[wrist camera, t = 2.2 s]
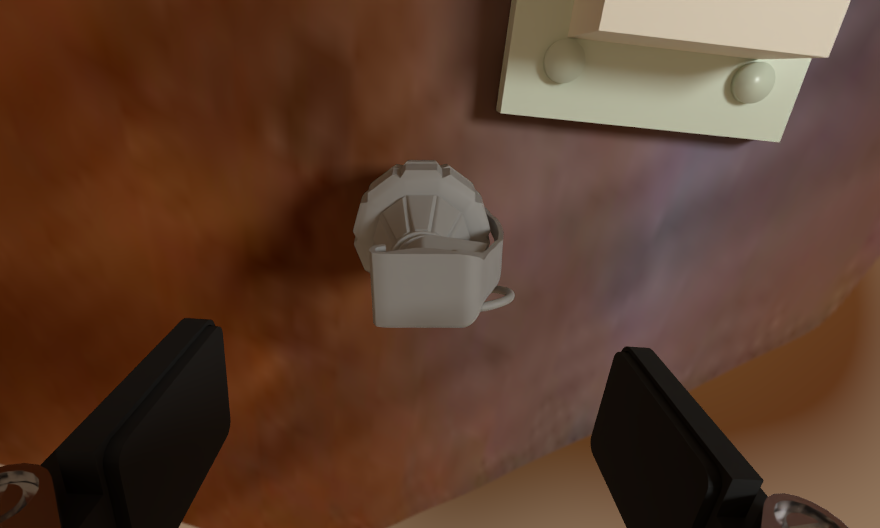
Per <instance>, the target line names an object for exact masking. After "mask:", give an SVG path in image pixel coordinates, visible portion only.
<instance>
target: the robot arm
mask: <svg viewBox="0 0 880 528" xmlns="http://www.w3.org/2000/svg"><path fill="white" fill-rule="evenodd" d="M229 428H230V410H229V398H228V387H227V376H226V365H225V354H224V343H223V332H222V329H221V327H218V326H215V324H214V322H213V321H212V320H207V319H192V318H184V319H183V320H181V321H180V322H179V323H178V324H177V326H176V327H175V328H174V329H173V330H172V331H171V332H170V333H169V334H168V335H167V336H166V337H165V338H164V339H163V340H162V341H161V342H160V343H159V344H158V345H157V346H156V347H155V348H154V349H153V350H152V351H151V352H150V353H149V354H148V355H147V356H146V357H145V358H144V359H143V360H142V361H141V362H140V364H139V365H138V366H137V367H136V368H135V369H134V370H133V371H132V372H131V373H130V374H129V375H128V376H127V377H126V378H125V379H124V380H123V381H122V382H121V383H120V384H119V385H118V386H117V387H116V388H115V389H114V390H113V391H112V392H111V393H110V394H109V395H108V396H107V397H106V398H105V399H104V400H103V402H102V403H101V404H100V405H99V406H98V407H97V408H96V409H95V410H94V411H93V412H92V413H91V414H90V415H89V416H88V417H87V418H86V419H85V420H84V421H83V422H82V423H81V424H80V425H79V426H78V427H77V428H76V429H75V430H74V431H73V432H72V433H71V434H70V435H69V436H68V437H67V438H66V440H65V441H64V442H63V443H62V444H61V445H60V446H59V447H58V448H57V449H56V450H55V451H54V452H53V453H52V454H51V455H50V456H49V457H48V458H47V459H46V460H45V461H44V462H43V463H42V464H41V465H37V464H28V463H22V464H13V465H6V466H2V467H0V528H179V526H180V524H181V522H182V520H183V518H184V516H185V514H186V513H187V511H188V509H189V507H190V505H191V503H192V501H193V499H194V498H195V496H196V494H197V492H198V490H199V488H200V486H201V484H202V482H203V481H204V479H205V477H206V475H207V473H208V471H209V469H210V467H211V466H212V464H213V462H214V460H215V458H216V456H217V454H218V452H219V451H220V449H221V447H222V445H223V443H224V441H225V439H226V437H227V435H228V432H229ZM591 450H592V453H593V456H594V458H595V460H596V462H597V464H598V466H599V469H600V471H601V473H602V475H603V477H604V480H605V481H606V484H607V486H608V488H609V490H610V493H611V494H612V497H613V499H614V501H615V503H616V506H617V508H618V510H619V512H620V514H621V516H622V519H623V521H624V523H625V525H626V527H627V528H848V527H847V526H846V525H845V524H844V523H843V522H842V521H841V520H840V519H838V518H837V517H835V516H834V515H833V514H831V513H830V512H829V511H827V510H825V509H824V508H822V507H820V506H818V505H817V504H815V503H813V502H811V501H808V500H806V499H803V498H800V497H798V496H794V495H789V494H773V495H771V496H769V497H768V496H767V495H766V494H765V493H764V492H763V490H762V489H761V488H760V487H761V485H762V483H763V479H762V478H761V477H760V476H759V474H758V473H757V472H756V471H755V470H754V469H753V467H752V466H751V465H750V464H749V463H748V462H747V461H746V459H745V458H744V457H743V456H742V455H741V453H740V452H739V451H738V450H737V449H736V448H735V446H734V445H733V444H732V443H731V442H730V441H729V439H728V438H727V437H726V436H725V435H724V433H723V432H722V431H721V430H720V429H719V428H718V426H717V425H716V424H715V423H714V422H713V421H712V419H711V418H710V417H709V416H708V415H707V414H706V412H705V411H704V410H703V409H702V408H701V406H700V405H699V404H698V403H697V402H696V401H695V399H694V398H693V397H692V396H691V395H690V394H689V392H688V391H687V390H686V389H685V388H684V387H683V385H682V384H681V383H680V382H679V381H678V380H677V378H676V377H675V376H674V375H673V374H672V373H671V371H670V370H669V369H668V368H667V367H666V366H665V364H664V363H663V362H662V361H661V360H660V358H659V357H658V356H657V355H656V354H655V353H654V351H653V350H651V349H650V348H640V347H624V348H623V350H622V351H621V352H617V353H616V354H615V356H614V359H613V362H612V366H611V369H610V373H609V376H608V380H607V383H606V387H605V390H604V394H603V397H602V401H601V404H600V408H599V411H598V415H597V418H596V422H595V425H594V429H593V432H592V436H591Z"/></svg>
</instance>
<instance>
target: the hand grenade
mask: <svg viewBox="0 0 880 528" xmlns="http://www.w3.org/2000/svg"><path fill="white" fill-rule="evenodd" d="M490 231H491V233H492V235H493V238H494V241H495V242H494V243H493V244H492V245H491V246H490V247H489V244H490V241H489V236H488V235H489V233H490ZM353 233H354V234H355V241H354V246H355V248H356V250H357V253H358V255H359V258H360V260H361V262H362V265H363V267H364V269H365V270H366V271H368V272H369V273H370V275H371V291H372V308H373V323H374V324H375V325H376V326H379V327H423V328H429V327H447V328H463V327H467V326H469V325H470V324H472V323H473V322H474V321H475V320H476V318H477V317H478V315H479V313H480V312H482V311H487V310H492V309H496V308H499V307H502V306H505V305H507V304H509V303H510V302H511V301H513V299H514V297H515V294H514V292H513V291H512V290H511V289H509V288H506V287H502V286H496V285H497V284H498V282H499V279H500V275H501V263H502V248H503V233H504V232H503V229H502V226H501V224H500V222H499V221H498V219H496V218H495V217H494V216H493V215H491V214H490V212H489V211H488V210H487V208H485V207H484V204H483V201H482V198H481V195H480V193H479V192H477V191H476V190H475V189H474V185H473V183H472V182H470V181H469V180H468V179H466V178H465V177H464V176H462V175H461V174H460V173H458V172H457V171H456V170H454V169H453V168H451V167H450V166H449V165H447V164H445V165H439V164H438V163H437V162H436V161H435V160H408V161H407V162H406V163H405V164H404V166H403V165H399V164H396V165H395V166H393V167H392V168H391V169H389V170H388V171H387V172H385V173H384V174H383V175H381V176H380V177H379V178H377V179H376V180H375V181H373V182H372V183H371V185H370V186H369V190H368V191H367V192H365V193H364V195H363V196H362V199H361V203H360V207H359V210H358V214H357V218H356V221H355V225H354V229H353ZM488 247H489V248H488ZM490 293H499V294H503V295H506V296H504V297H502V298H499V299H496V300H492V301H488V302H484V301H485V300H486V298H487V297H488V295H489V294H490Z"/></svg>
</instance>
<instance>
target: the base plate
mask: <svg viewBox="0 0 880 528" xmlns="http://www.w3.org/2000/svg"><path fill="white" fill-rule="evenodd" d="M573 5H574V0H512V1H511V8H510V15H509V22H508V29H507V36H506V43H505V50H504V57H503V64H502V71H501V78H500V86H499V93H498V100H497V107H496V111H498V112H499V113H503V114H513V115H522V116H532V117H542V118H551V119H561V120H571V121H580V122H590V123H599V124H609V125H619V126H628V127H638V128H647V129H657V130H667V131H676V132H686V133H696V134H705V135H715V136H724V137H734V138H744V139H753V140H763V141H772V142H780V140H781V137H782V135H783V132H784V129H785V127H786V124H787V122H788V119H789V116H790V114H791V111H792V108H793V106H794V103H795V100H796V98H797V95H798V93H799V90H800V87H801V85H802V82H803V79H804V77H805V74H806V72H807V69H808V66H809V64H810V61H811V58H795V59H749V58H741V57H732V56H723V55H715V54H706V53H698V52H689V51H681V50H672V49H663V48H655V47H646V46H638V45H629V44H621V43H612V42H603V41H595V40H586V39H578V38H569V37H568V31H569V26H570V21H571V16H572V10H573Z"/></svg>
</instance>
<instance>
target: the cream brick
mask: <svg viewBox="0 0 880 528" xmlns="http://www.w3.org/2000/svg"><path fill="white" fill-rule="evenodd" d="M850 1H851V0H574V5H573V10H572V16H571V21H570V26H569V31H568V37H569V38H578V39H586V40H595V41H603V42H612V43H621V44H629V45H638V46H646V47H655V48H663V49H672V50H681V51H689V52H698V53H706V54H715V55H723V56H732V57H741V58H749V59H795V58H828V57H829V54H830V52H831V49H832V47H833V44H834V42H835V39H836V37H837V34H838V31H839V29H840V26H841V24H842V21H843V19H844V16H845V14H846V11H847V9H848V6H849V4H850Z"/></svg>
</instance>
